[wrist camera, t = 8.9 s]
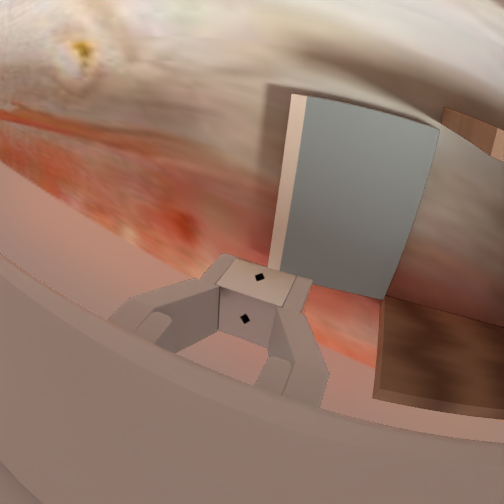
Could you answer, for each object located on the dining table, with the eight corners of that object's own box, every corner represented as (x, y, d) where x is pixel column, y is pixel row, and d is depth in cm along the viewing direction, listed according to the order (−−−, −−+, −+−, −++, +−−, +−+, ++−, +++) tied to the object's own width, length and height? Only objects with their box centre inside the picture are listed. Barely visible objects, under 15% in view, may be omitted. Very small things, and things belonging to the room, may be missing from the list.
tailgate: (440, 130, 13) (291, 93, 15) (383, 300, 20) (266, 273, 21) (434, 126, 14) (294, 92, 16) (382, 290, 21) (270, 264, 22)
